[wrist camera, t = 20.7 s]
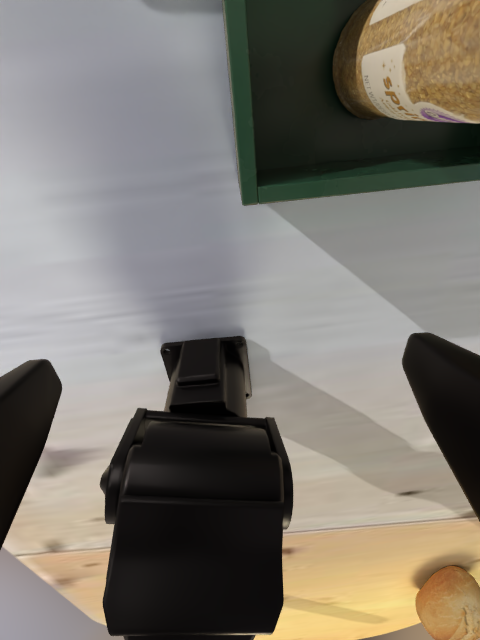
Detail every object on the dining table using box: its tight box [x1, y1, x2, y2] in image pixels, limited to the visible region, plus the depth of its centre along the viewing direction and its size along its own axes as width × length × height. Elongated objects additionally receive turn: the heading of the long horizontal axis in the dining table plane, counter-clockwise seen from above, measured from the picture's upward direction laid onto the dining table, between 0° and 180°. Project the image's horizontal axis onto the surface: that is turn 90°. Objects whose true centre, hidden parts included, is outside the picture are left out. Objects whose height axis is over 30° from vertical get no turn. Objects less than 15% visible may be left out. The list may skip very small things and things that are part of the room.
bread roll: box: [416, 566, 480, 640], centre depth 51 cm, size 10×15×8 cm, turn 3°
